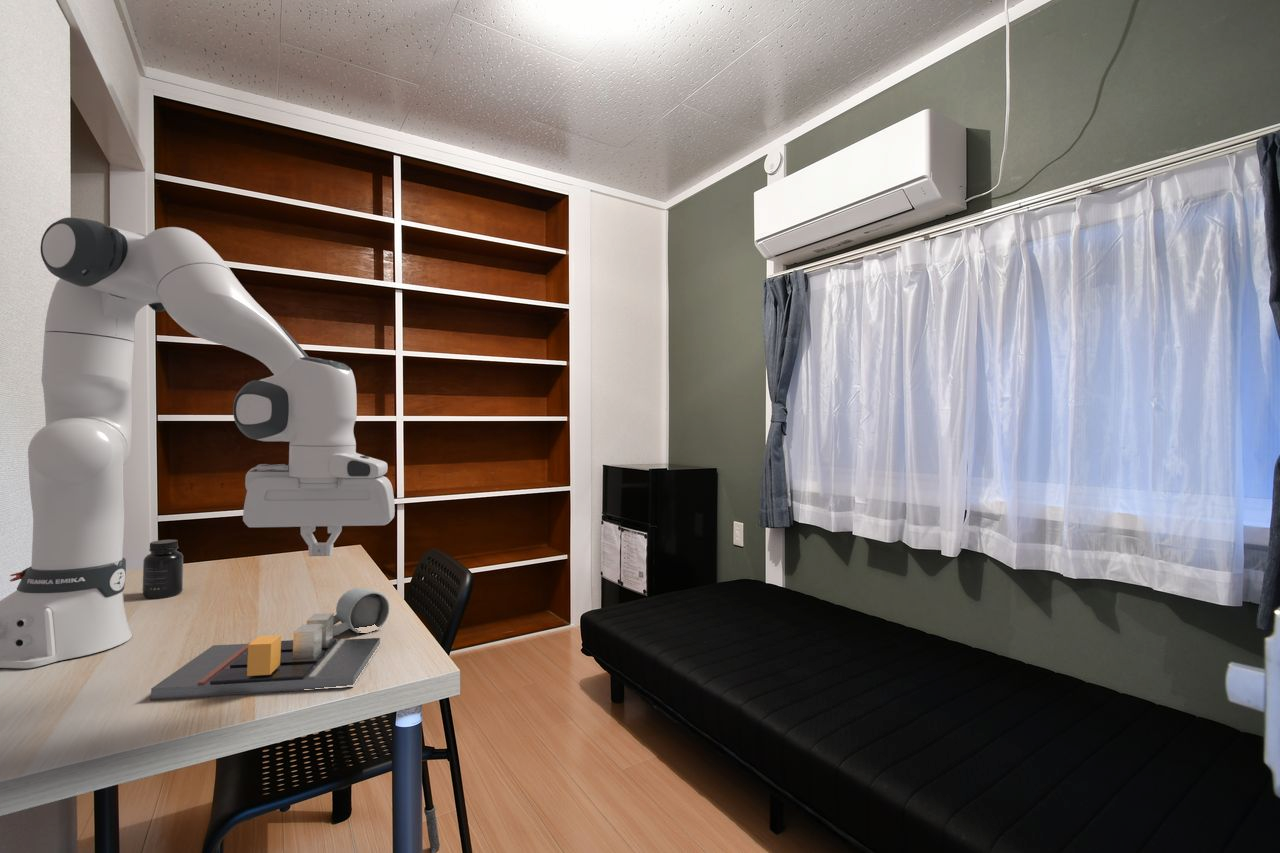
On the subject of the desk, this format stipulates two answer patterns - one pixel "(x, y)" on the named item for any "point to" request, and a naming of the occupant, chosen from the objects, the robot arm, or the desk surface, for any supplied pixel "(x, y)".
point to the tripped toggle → (264, 655)
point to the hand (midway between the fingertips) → (320, 555)
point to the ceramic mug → (360, 610)
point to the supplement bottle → (163, 570)
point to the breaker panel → (301, 667)
